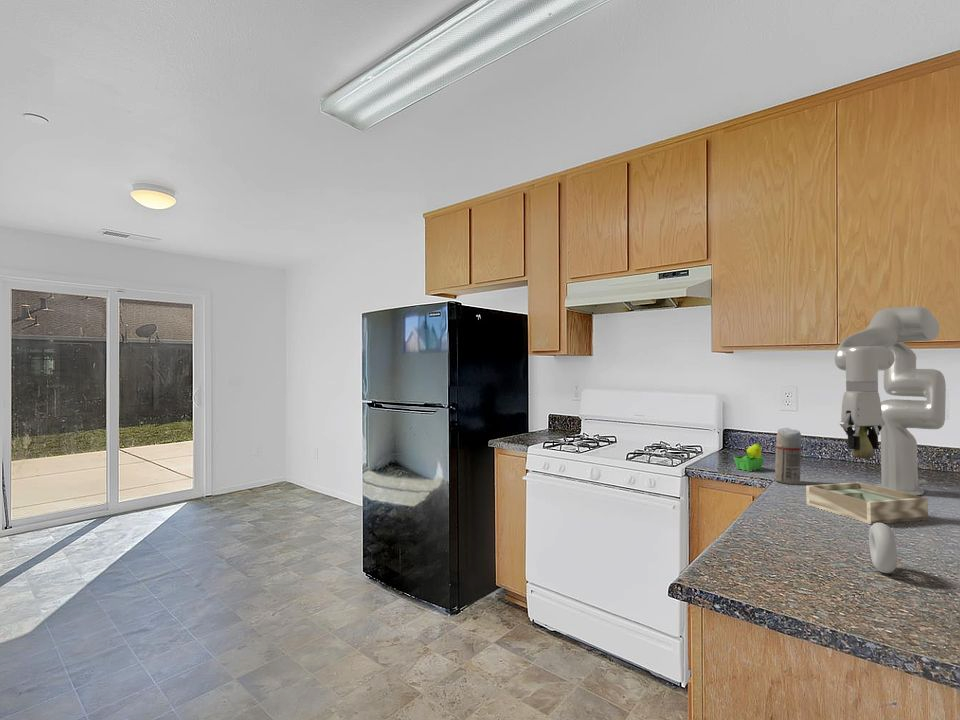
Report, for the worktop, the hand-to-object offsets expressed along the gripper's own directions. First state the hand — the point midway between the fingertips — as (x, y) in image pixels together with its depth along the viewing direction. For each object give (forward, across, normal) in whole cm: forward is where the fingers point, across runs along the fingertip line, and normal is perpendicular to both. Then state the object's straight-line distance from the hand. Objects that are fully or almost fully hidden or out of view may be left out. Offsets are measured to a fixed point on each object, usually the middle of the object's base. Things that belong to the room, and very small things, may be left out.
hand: (863, 448), depth 145 cm
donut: (+19, +38, +35) cm, 55 cm away
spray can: (+19, -10, -37) cm, 43 cm away
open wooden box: (+19, 0, 0) cm, 19 cm away
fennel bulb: (+3, 0, 0) cm, 3 cm away
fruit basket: (+19, -14, -60) cm, 64 cm away
